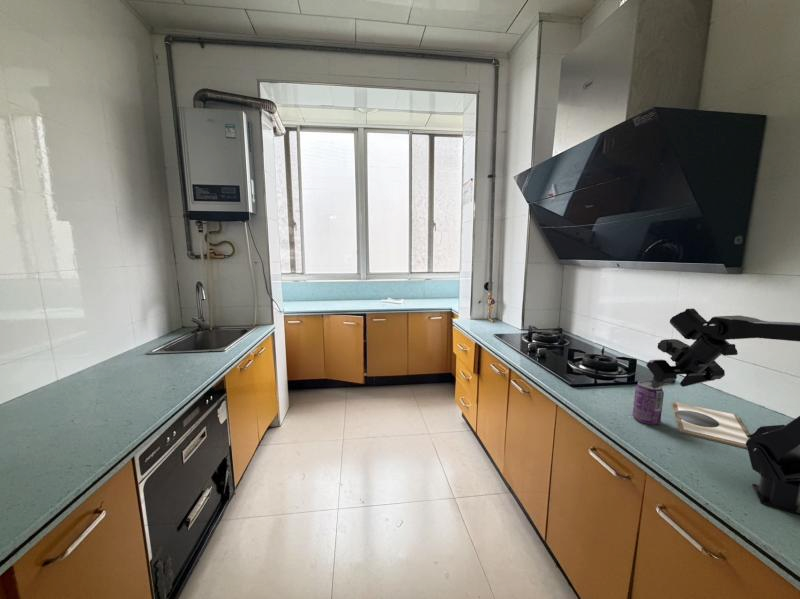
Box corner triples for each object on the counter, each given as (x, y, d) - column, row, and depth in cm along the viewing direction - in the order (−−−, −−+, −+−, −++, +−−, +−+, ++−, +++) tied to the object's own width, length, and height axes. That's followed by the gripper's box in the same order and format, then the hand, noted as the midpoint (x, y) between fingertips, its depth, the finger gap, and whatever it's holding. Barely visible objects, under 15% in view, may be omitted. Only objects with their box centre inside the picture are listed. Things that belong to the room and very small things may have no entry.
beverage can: (658, 418, 104) (662, 382, 102) (662, 428, 98) (666, 391, 96) (631, 412, 108) (634, 378, 106) (633, 422, 102) (637, 386, 100)
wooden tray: (758, 451, 87) (758, 448, 86) (679, 432, 96) (680, 429, 96) (736, 416, 104) (736, 413, 104) (672, 403, 113) (672, 400, 113)
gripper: (710, 328, 92) (676, 362, 102) (649, 331, 90) (621, 365, 100) (744, 360, 83) (704, 393, 94) (678, 364, 82) (644, 397, 92)
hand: (667, 386), depth 95 cm, fingers open, 9 cm apart
